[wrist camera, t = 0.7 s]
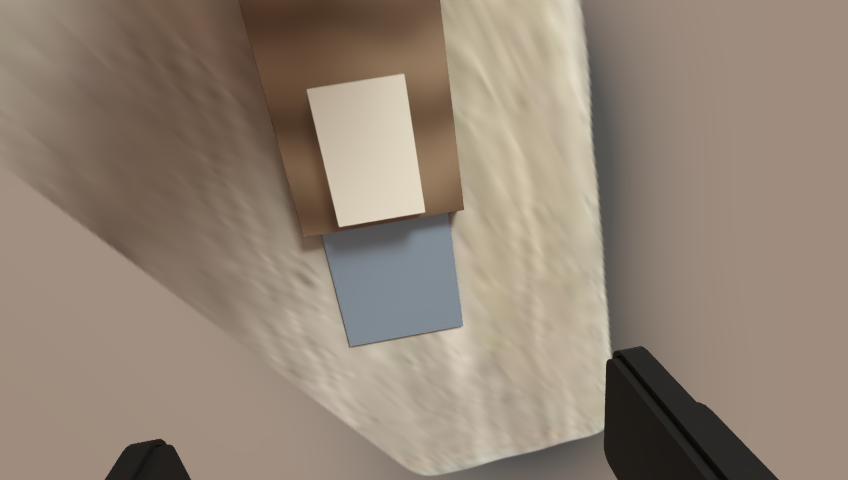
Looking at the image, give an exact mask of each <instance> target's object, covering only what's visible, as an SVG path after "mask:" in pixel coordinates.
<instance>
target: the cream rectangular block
mask: <svg viewBox="0 0 848 480" xmlns="http://www.w3.org/2000/svg"><path fill="white" fill-rule="evenodd" d="M306 90H307V94H308V98H309V102H310V107H311V111H312V115H313V119H314V123H315V128H316V132H317V136H318V140H319V145H320V149H321V153H322V157H323V162H324V166H325V170H326V174H327V178H328V183H329V187H330V191H331V195H332V200H333V204H334V208H335V212H336V217H337V221H338V225H339V227H343V226H349V225H355V224H360V223H366V222H372V221H378V220H384V219H389V218H395V217H401V216H407V215H413V214H418V213H424V212H425V207H424V200H423V193H422V187H421V180H420V174H419V167H418V161H417V154H416V147H415V141H414V134H413V128H412V121H411V115H410V108H409V101H408V95H407V88H406V82H405V75H404V74H397V75H390V76H384V77H378V78H371V79H365V80H359V81H353V82H346V83H340V84H334V85H327V86H321V87H315V88H310V89H306Z"/></svg>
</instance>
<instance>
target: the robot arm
mask: <svg viewBox="0 0 848 480" xmlns="http://www.w3.org/2000/svg"><path fill="white" fill-rule="evenodd" d="M604 451H605V455H606V459H607V461H608V463H609V465H610V467H611V469H612V470H613V472H614V474H615V476H616V477H617V479H618V480H778V479H777V477H775V475H774V474H773V473H772V472H771V471H770V470H769V469H768V468H767V467H766V466H765V465H764V464H763V463H762V462H761V461H760V460H759V459H758V458H757V457H756V456H755V455H754V454H753V453H752V452H751V451H750V450H749V448H748V447H746V445H745V444H744V443H743V442H742V441H741V440H740V439H739V438H738V437H737V436H736V435H735V434H734V433H733V432H732V431H731V430H730V429H729V428H728V427H727V426H726V425H725V424H724V423H723V422H722V420H720V419H719V417H718V416H717V415H716V414H715V413H714V412H713V411H712V410H710V409H709V408H708V407H707V406H706V405H704V404H702V403H699V402H696V401H695V400H694V399H693V398H692V397H691V396H690V395H689V394H688V393H687V392H686V391H685V389H684V388H683V387H682V386H681V385H680V384H679V383H678V382H677V381H676V380H675V379H674V378H673V377H672V376H671V375H670V374H669V373H668V371H667V370H666V369H665V368H664V367H663V366H662V365H661V364H660V363H659V362H658V361H657V360H656V359H655V358H654V357H653V356H652V355H651V353H650V352H649V351H648V350H646V349H645V348H644V347H641V346H639V347H634V348H630V349H624V350H619V351H615V352H614V354H613V358H612V359H609V360H607V363H606V391H605V426H604ZM105 480H191V479H190V477H189V475H188V473H187V471H186V469H185V468H184V466H183V464H182V462H181V460H180V458H179V456H178V454H177V452H176V450H175V448H174V447H173V446H172V445H167V444H166V443H165V441H163V440H162V439H156V440H151V441H146V442H141V443H136V444H131V445H129V446H128V447H126V448H125V450H124V451H123V452H122V454H121V455H120V457H119V458H118V460H117V461H116V463H115V465H114V466H113V468H112V470H111V471H110V473H109V474H108V476H107V477H106V479H105Z"/></svg>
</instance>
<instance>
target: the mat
mask: <svg viewBox="0 0 848 480" xmlns="http://www.w3.org/2000/svg"><path fill="white" fill-rule="evenodd" d="M322 238H323V242H324V246H325V250H326V254H327V258H328V262H329V266H330V270H331V273H332V277H333V281H334V285H335V289H336V293H337V297H338V301H339V305H340V309H341V313H342V317H343V321H344V325H345V328H346V332H347V336H348V340H349V344H350V347H351V346H356V345H362V344H367V343H373V342H378V341H383V340H389V339H394V338H400V337H405V336H410V335H416V334H421V333H427V332H432V331H437V330H443V329H448V328H454V327H459V326H463V322H462V314H461V306H460V299H459V291H458V283H457V276H456V268H455V260H454V253H453V245H452V238H451V230H450V222H449V215H448V213H442V214H437V215H431V216H425V217H419V218H414V219H408V220H402V221H396V222H390V223H385V224H379V225H373V226H367V227H362V228H356V229H350V230H344V231H339V232H333V233H327V234H322Z"/></svg>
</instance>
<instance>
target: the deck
mask: <svg viewBox="0 0 848 480" xmlns="http://www.w3.org/2000/svg"><path fill="white" fill-rule="evenodd" d="M239 3H240V7H241V11H242V14H243V18H244V22H245V25H246V29H247V33H248V36H249V40H250V44H251V47H252V51H253V55H254V58H255V62H256V66H257V69H258V73H259V77H260V80H261V84H262V88H263V91H264V95H265V99H266V102H267V106H268V110H269V113H270V117H271V121H272V124H273V128H274V132H275V135H276V139H277V143H278V146H279V150H280V154H281V157H282V161H283V165H284V168H285V172H286V176H287V179H288V183H289V187H290V190H291V194H292V198H293V201H294V205H295V209H296V212H297V216H298V219H299V223H300V227H301V230H302V234H303V238H304V237H310V236H315V235H321V234H327V233H333V232H339V231H344V230H350V229H356V228H362V227H367V226H373V225H379V224H385V223H390V222H396V221H402V220H408V219H414V218H419V217H425V216H431V215H437V214H442V213H448V212H454V211H460V210H464V205H463V197H462V188H461V179H460V171H459V162H458V153H457V145H456V136H455V127H454V119H453V110H452V101H451V93H450V84H449V75H448V67H447V58H446V49H445V41H444V32H443V23H442V15H441V6H440V0H239ZM397 74H404V75H405V82H406V88H407V95H408V101H409V108H410V115H411V121H412V128H413V134H414V141H415V147H416V154H417V161H418V167H419V174H420V180H421V187H422V193H423V200H424V207H425V212H424V213H418V214H413V215H407V216H401V217H395V218H389V219H384V220H378V221H372V222H366V223H360V224H355V225H349V226H343V227H339V225H338V221H337V217H336V212H335V208H334V204H333V200H332V195H331V191H330V187H329V183H328V178H327V174H326V170H325V166H324V162H323V157H322V153H321V149H320V145H319V140H318V136H317V132H316V128H315V123H314V119H313V115H312V111H311V107H310V102H309V98H308V94H307V90H306V89H310V88H315V87H321V86H327V85H334V84H340V83H346V82H353V81H359V80H365V79H371V78H378V77H384V76H390V75H397Z"/></svg>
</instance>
